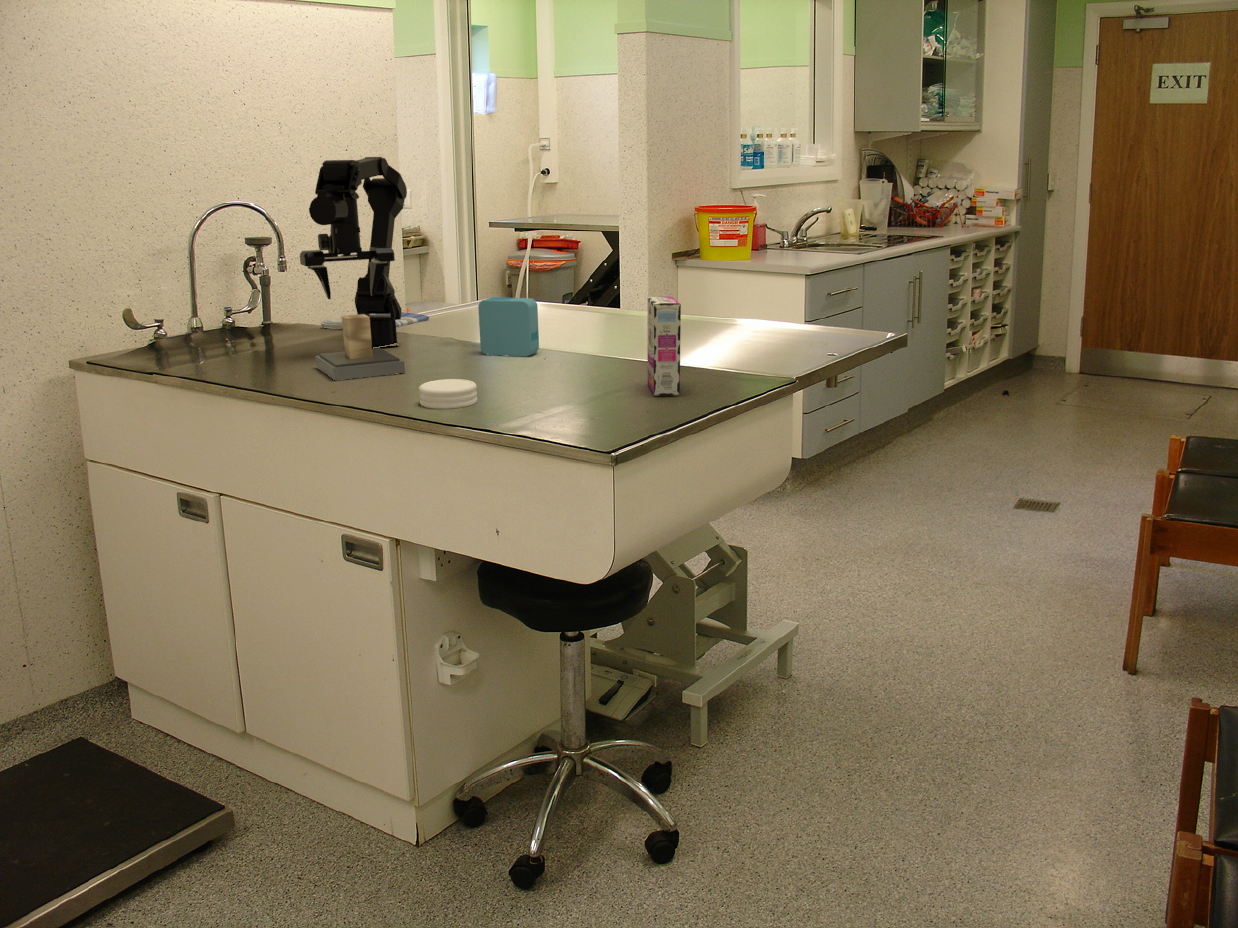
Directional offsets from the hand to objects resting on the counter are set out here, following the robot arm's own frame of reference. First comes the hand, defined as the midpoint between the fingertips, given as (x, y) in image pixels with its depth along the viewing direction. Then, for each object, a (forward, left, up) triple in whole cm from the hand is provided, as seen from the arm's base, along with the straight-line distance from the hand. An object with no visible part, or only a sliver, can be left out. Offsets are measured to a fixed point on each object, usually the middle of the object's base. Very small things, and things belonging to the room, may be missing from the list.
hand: (351, 297), depth 230 cm
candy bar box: (-40, +64, -13) cm, 77 cm away
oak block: (+3, +15, -10) cm, 18 cm away
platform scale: (+3, +15, -13) cm, 20 cm away
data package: (-30, +14, -13) cm, 36 cm away
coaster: (-3, +53, -14) cm, 55 cm away
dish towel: (-17, -47, -14) cm, 52 cm away
